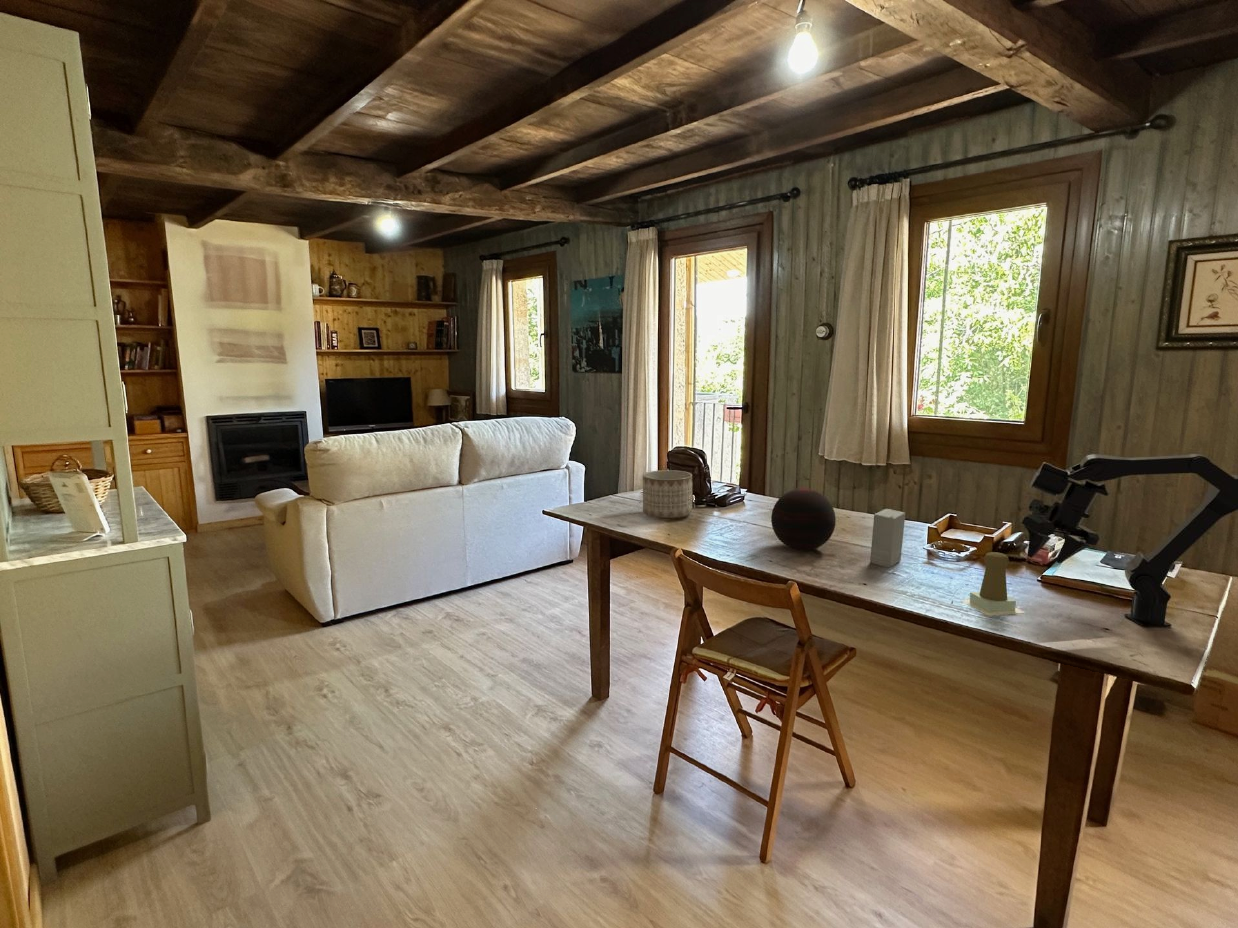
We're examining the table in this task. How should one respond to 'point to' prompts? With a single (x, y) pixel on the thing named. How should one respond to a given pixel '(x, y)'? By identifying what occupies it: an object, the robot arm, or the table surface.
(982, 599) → the tower block
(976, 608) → the tower slab
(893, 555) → the skincare box
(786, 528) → the decorative orb
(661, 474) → the planter
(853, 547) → the table surface
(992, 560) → the olive pawn shaped peg
